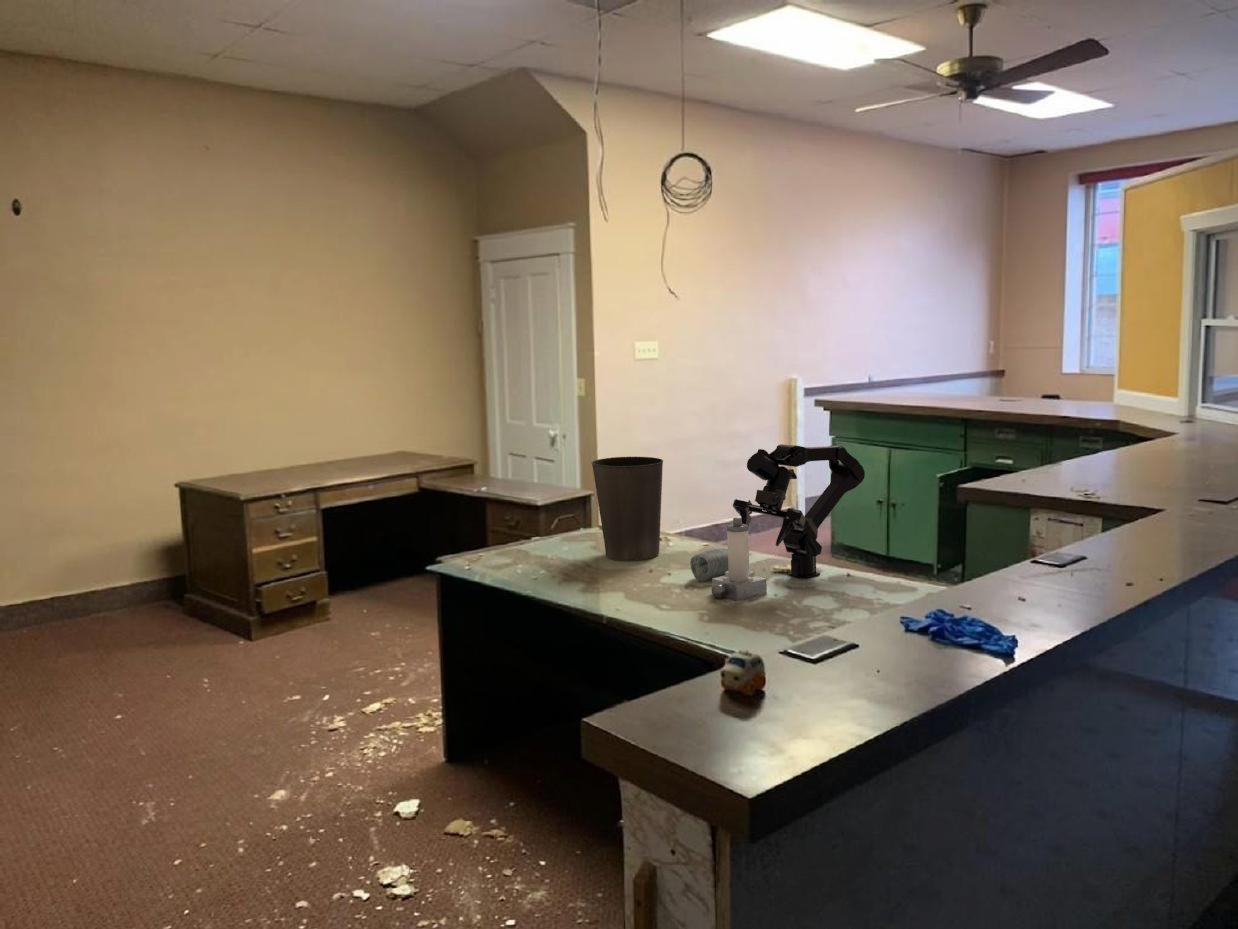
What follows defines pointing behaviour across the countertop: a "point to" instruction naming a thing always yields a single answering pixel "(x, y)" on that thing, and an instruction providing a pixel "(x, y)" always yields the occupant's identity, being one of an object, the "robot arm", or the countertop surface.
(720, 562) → the spool
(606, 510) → the waste basket
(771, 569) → the countertop surface
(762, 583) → the studded square plate
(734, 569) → the white bottle
